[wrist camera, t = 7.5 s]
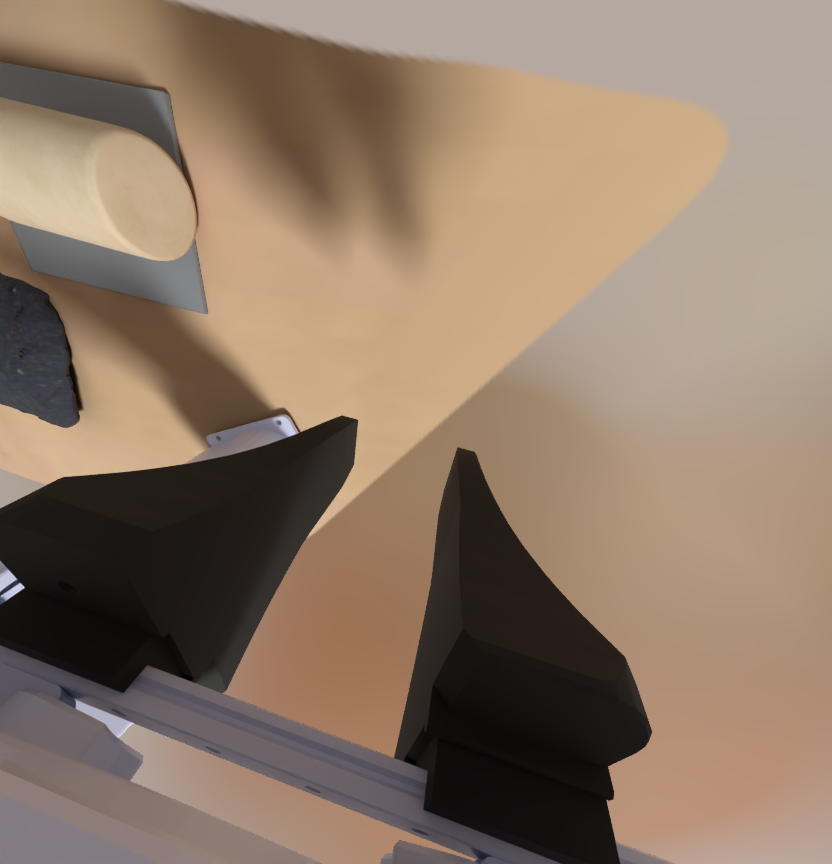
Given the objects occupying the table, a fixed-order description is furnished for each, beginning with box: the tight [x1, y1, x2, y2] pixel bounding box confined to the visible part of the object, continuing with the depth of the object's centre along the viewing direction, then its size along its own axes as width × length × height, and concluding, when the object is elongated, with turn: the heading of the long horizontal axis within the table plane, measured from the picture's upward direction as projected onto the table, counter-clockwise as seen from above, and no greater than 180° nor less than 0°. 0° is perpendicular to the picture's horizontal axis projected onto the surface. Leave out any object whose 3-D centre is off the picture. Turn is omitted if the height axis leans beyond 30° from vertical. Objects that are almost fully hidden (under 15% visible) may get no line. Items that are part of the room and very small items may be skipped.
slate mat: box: [0, 62, 208, 314], centre depth 19 cm, size 14×11×1 cm
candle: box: [0, 97, 197, 261], centre depth 16 cm, size 6×6×10 cm
